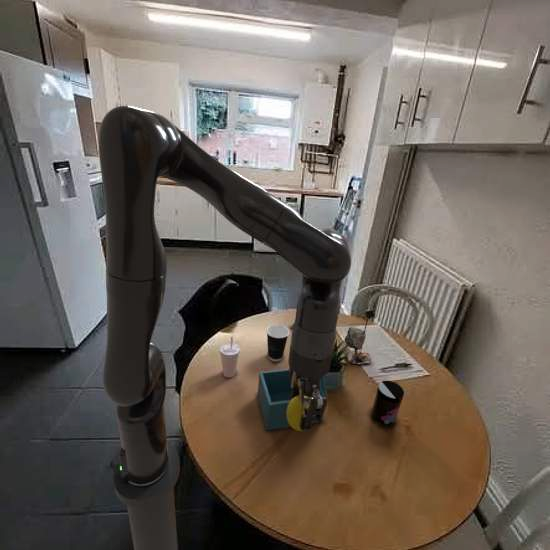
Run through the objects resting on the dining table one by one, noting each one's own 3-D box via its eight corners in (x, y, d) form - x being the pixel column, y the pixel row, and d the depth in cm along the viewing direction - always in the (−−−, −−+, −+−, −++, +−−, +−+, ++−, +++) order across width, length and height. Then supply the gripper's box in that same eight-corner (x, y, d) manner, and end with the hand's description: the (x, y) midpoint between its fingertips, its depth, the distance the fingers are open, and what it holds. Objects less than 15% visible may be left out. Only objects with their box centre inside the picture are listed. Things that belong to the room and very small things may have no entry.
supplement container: (374, 426, 85) (382, 397, 81) (368, 407, 92) (375, 379, 88) (398, 428, 85) (408, 399, 81) (391, 409, 92) (399, 381, 88)
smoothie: (242, 376, 99) (244, 339, 94) (224, 383, 96) (225, 345, 90) (233, 364, 104) (234, 329, 99) (215, 370, 101) (216, 334, 95)
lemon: (294, 412, 66) (298, 383, 62) (317, 426, 63) (322, 396, 60) (279, 429, 61) (283, 398, 58) (303, 445, 59) (308, 414, 55)
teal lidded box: (266, 430, 81) (269, 405, 78) (257, 395, 92) (259, 371, 89) (321, 421, 85) (326, 397, 82) (306, 388, 96) (309, 366, 93)
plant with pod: (340, 348, 118) (349, 301, 110) (371, 355, 115) (382, 308, 107) (338, 361, 110) (348, 312, 103) (371, 368, 108) (383, 319, 100)
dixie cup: (264, 364, 106) (266, 337, 101) (263, 349, 113) (265, 324, 109) (287, 364, 106) (290, 337, 102) (285, 350, 114) (288, 324, 110)
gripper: (281, 323, 60) (273, 390, 66) (305, 373, 47) (292, 451, 53) (317, 321, 62) (306, 387, 68) (350, 369, 49) (332, 444, 55)
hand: (300, 414), depth 61 cm, fingers closed on lemon, 5 cm apart
